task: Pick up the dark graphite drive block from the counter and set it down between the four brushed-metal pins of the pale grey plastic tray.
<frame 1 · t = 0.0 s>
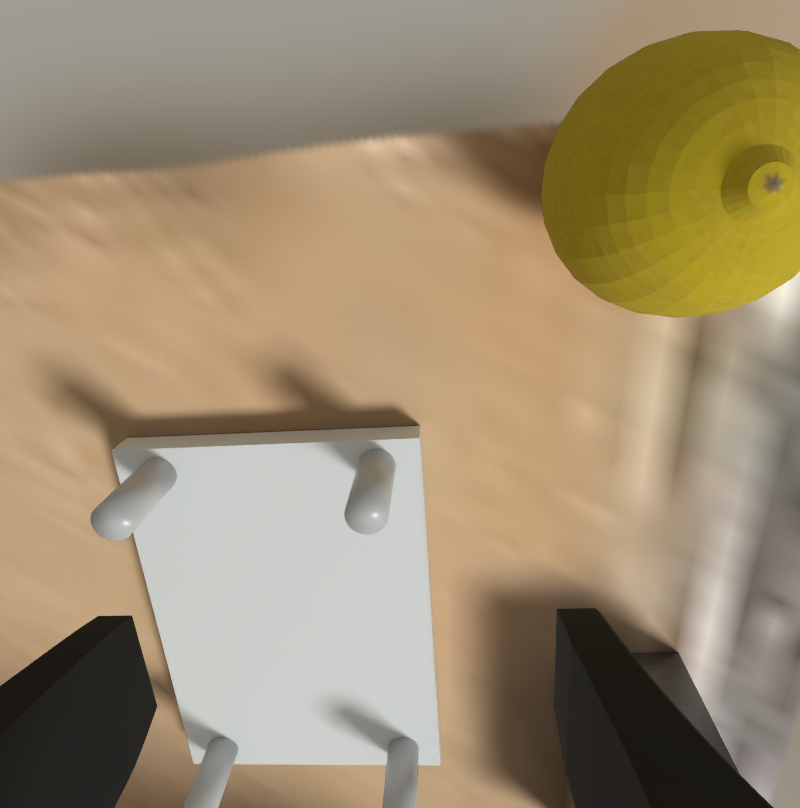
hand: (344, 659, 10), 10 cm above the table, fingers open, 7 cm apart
tray: (297, 604, 22), on the table
lemon: (619, 183, 17), on the table
drive: (615, 739, 24), on the table
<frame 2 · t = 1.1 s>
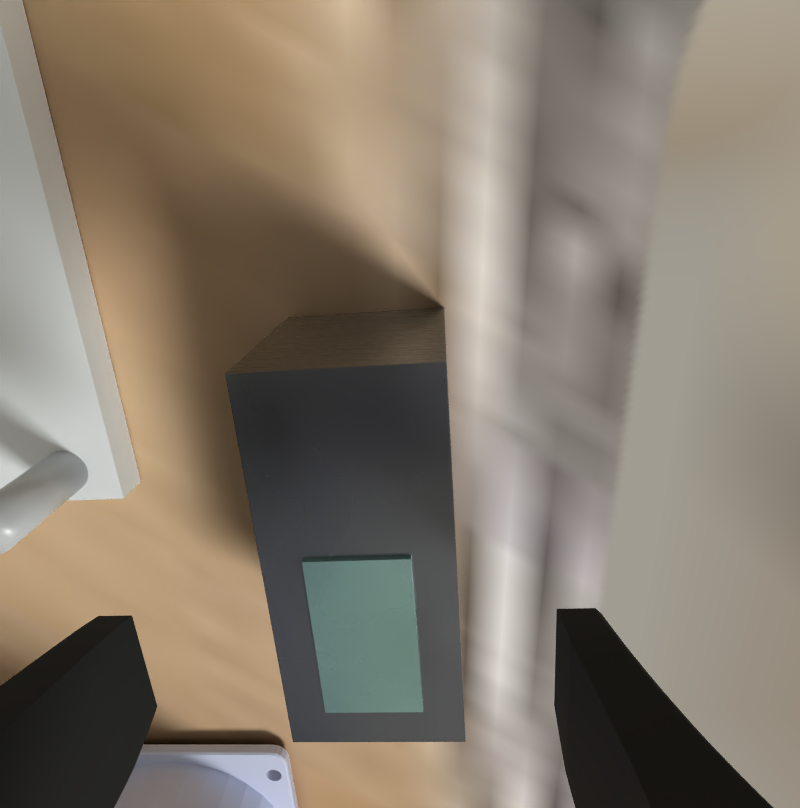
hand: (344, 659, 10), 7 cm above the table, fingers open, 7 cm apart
drive: (381, 468, 17), on the table
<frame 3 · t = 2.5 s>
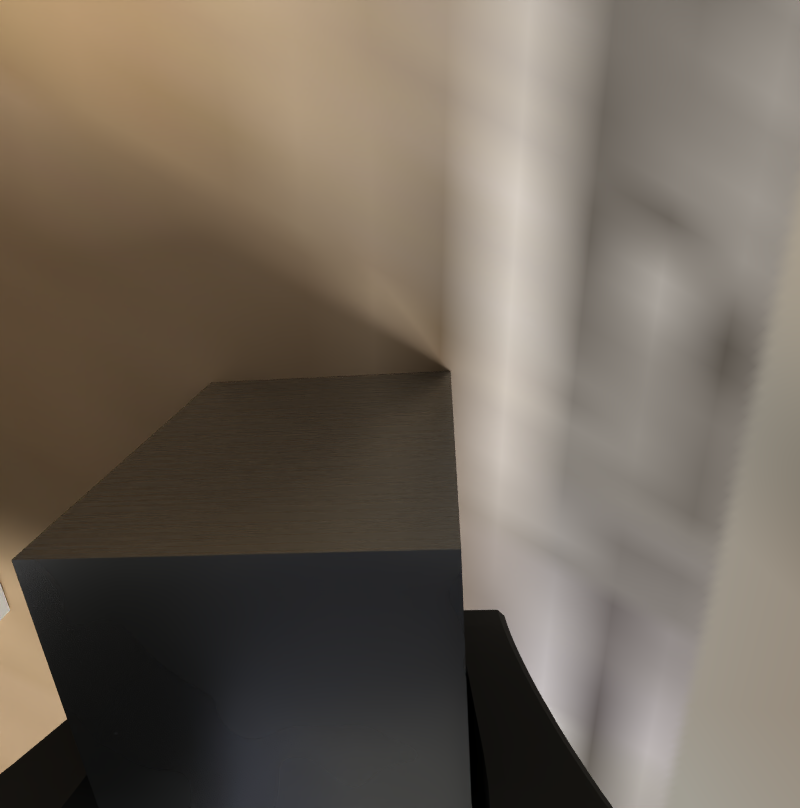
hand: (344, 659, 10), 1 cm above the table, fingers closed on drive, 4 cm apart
drive: (355, 600, 11), on the table, touching gripper
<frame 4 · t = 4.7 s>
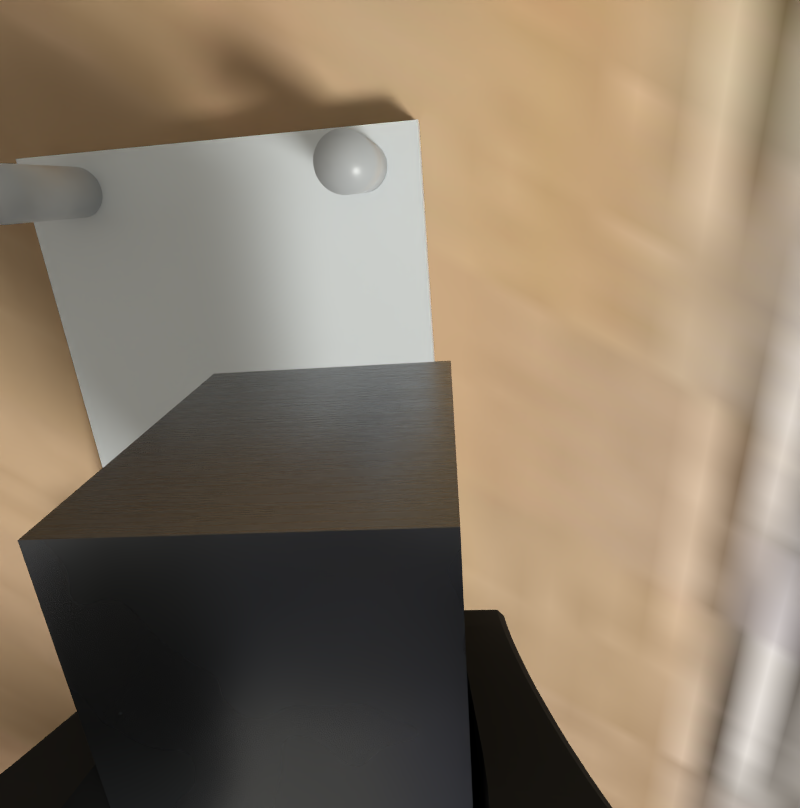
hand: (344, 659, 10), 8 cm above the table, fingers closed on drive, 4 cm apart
tray: (267, 398, 18), on the table
drive: (357, 590, 11), point 7 cm above the table, touching gripper
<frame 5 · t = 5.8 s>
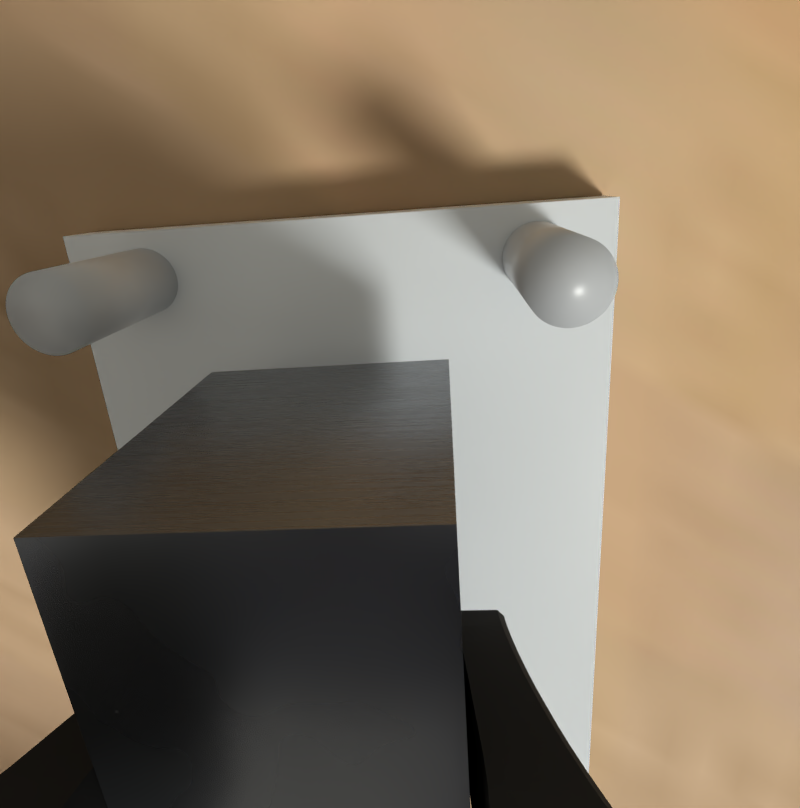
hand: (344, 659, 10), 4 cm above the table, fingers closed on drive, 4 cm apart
tray: (370, 527, 14), on the table
drive: (355, 589, 11), point 3 cm above the table, touching gripper
when the fingers open (4 cm above the table, at t = 6.6 s): drive drops 1 cm, resting on tray.
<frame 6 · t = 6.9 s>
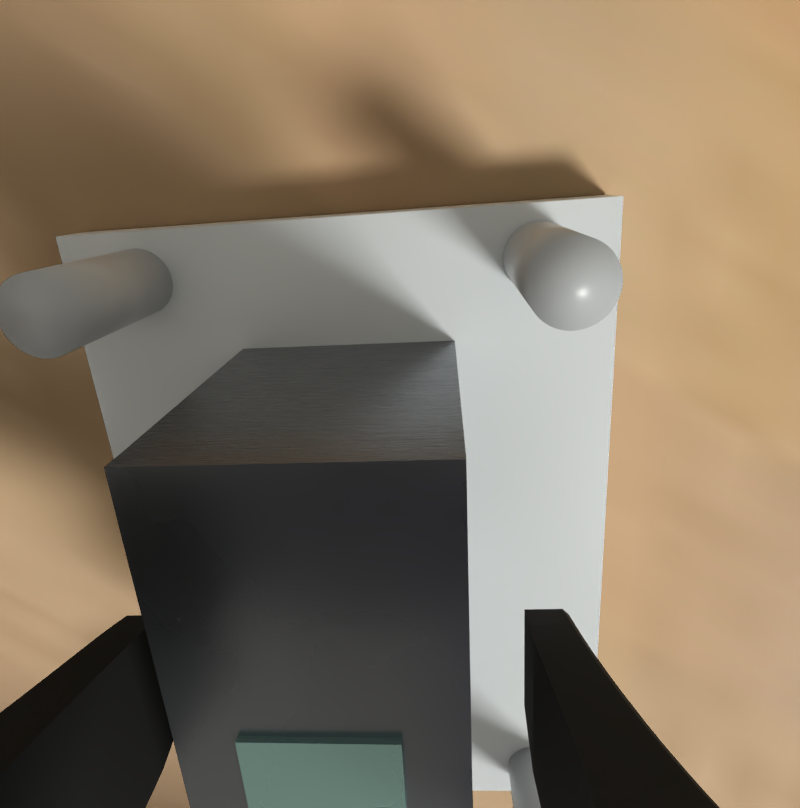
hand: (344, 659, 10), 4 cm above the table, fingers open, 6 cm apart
tray: (369, 532, 14), on the table
drive: (365, 549, 13), point 1 cm above the table, touching tray
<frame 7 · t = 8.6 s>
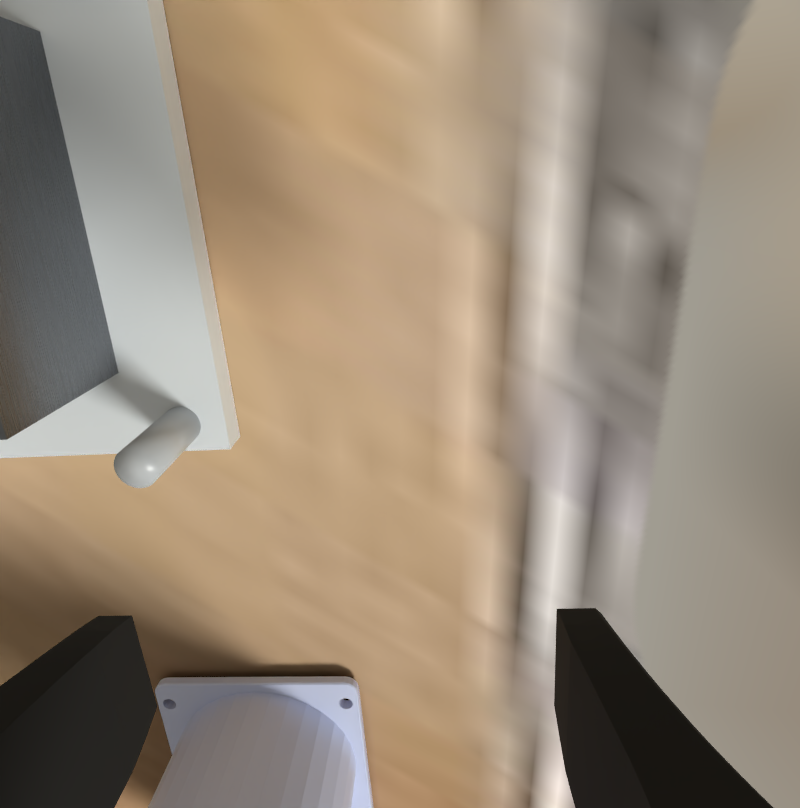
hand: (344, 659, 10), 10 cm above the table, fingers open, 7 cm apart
tray: (38, 227, 18), on the table
drive: (14, 222, 17), point 1 cm above the table, touching tray
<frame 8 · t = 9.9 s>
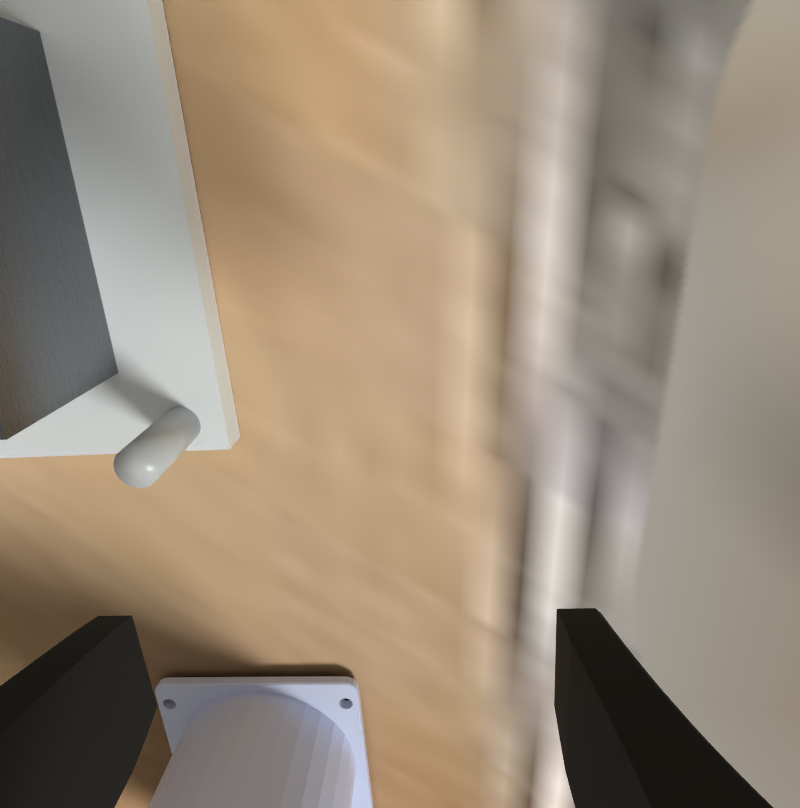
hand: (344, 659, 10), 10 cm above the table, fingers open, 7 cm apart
tray: (37, 227, 18), on the table
drive: (14, 222, 17), point 1 cm above the table, touching tray
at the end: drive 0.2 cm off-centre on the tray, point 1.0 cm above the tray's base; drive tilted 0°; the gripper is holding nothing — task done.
